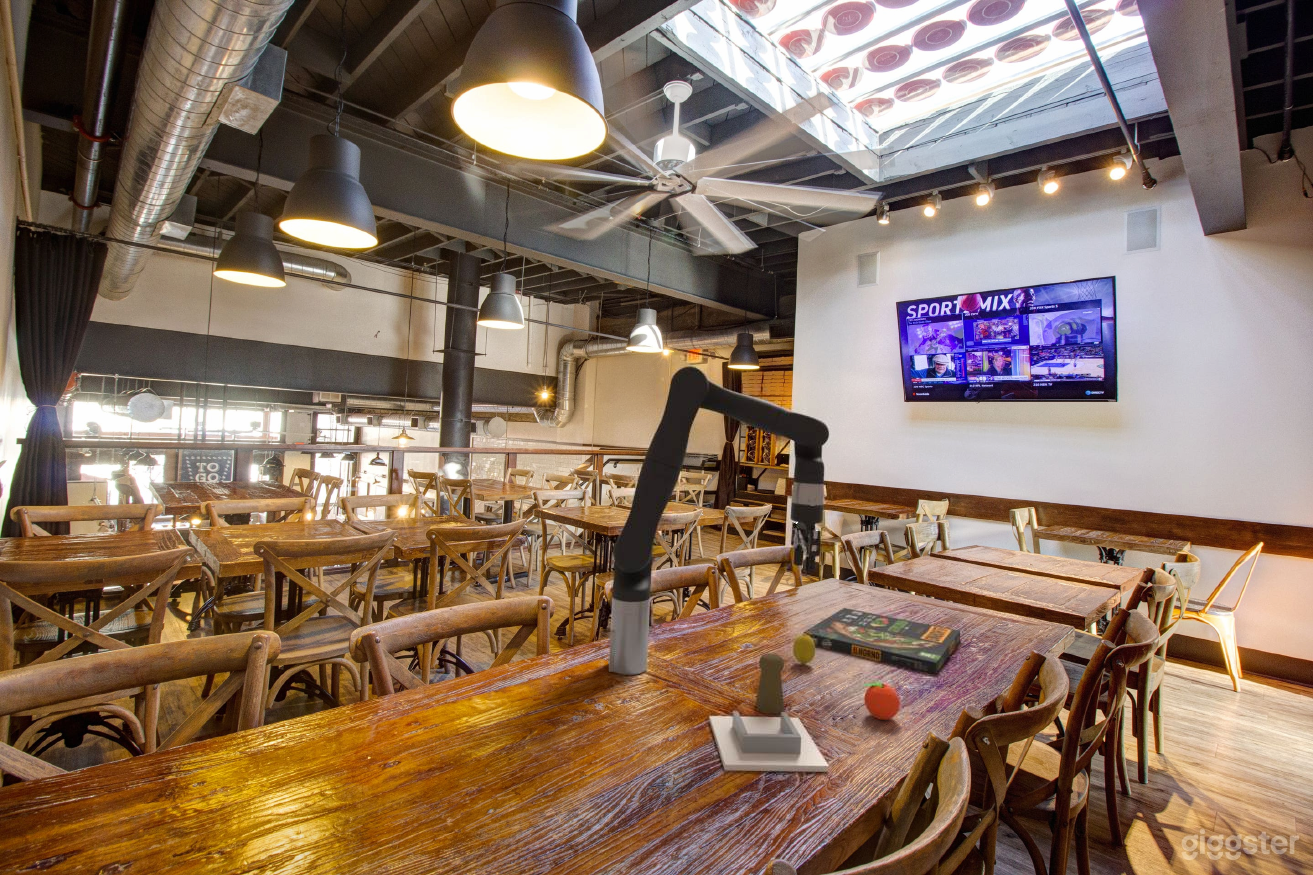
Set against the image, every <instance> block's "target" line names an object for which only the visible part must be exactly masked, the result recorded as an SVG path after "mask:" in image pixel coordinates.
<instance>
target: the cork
mask: <svg viewBox="0 0 1313 875" xmlns="http://www.w3.org/2000/svg"><path fill="white" fill-rule="evenodd" d="M758 665H759V668H760V669H761V671H760V677H759V681H758V682H759V684H758V688H757V694H756V700H755V708H756V709H757V710H759V711H761V712H763V713H765V714H781V712H785V711H784V710H785V704H784V703H785V702H784V691H783V681H782V680H783V679H782V672H783V670H784V667H785V661H784V659H783V657H782V656H781V655H779V654H776V653H771V652H769V653H768V652H767V653H764V654H762V655H761V656H760V657H759V661H758Z"/></svg>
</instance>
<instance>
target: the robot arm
mask: <svg viewBox="0 0 1313 875" xmlns="http://www.w3.org/2000/svg"><path fill="white" fill-rule="evenodd" d="M668 390H669V391H668V395H667V399H666V404H665V407H664V411H663V415H662V417H661V420H660V422H659V425H658V427H657V429H656V431H655V432H654V435H653V437H652V439H651V441H650V444H649V447H648V449H647V451H646V453H645V457H644V460H643V463H642V465H641V469H640V472H639V474H638V479H637V481H636V485H635V486H636V487H635V490H634V493H633V494H634V495H633V499H632V504H631V507H630V508H631V509H630V510H629V511H630V512H629V513H628V517H627V518H626V522H625V524H624V526H623V527H622V530H621V532H620V534H619V537H617V540H616V541H615V544H614V545H613V549H612V551H613V553H612V556H613V560H614V570H613V571H614V573H613V580H612V589H611V590H612V593H611V594H612V595H611V597H612V598H611V617H610V619H611V620H610V635H609V655H608V656H609V657H608V672H609V673H616V674H619V675H628V676H629V675H639V674H642V673H644V672H645V671H646V670H647V669H648V651H649V650H648V648H649V625H650V604H651V588H652V587H651V586H652V568H653V567H652V566H653V547H654V546H653V545H654V542H655V537H656V534H657V529H658V527H659V524H660V520H661V519H662V518H661V517H662V516H663V514H664V511H665V510H666V507H667V506H668V503H669V501H670V499H671V497H672V495H673V493H674V491H675V487H676V485H677V483H678V480H679V476H680V473H681V471H682V468H683V465H684V461H685V457H686V453H687V448H688V444H689V438H690V433H691V430H692V426H693V424H694V421H695V418H696V416H697V414H698V412H699V410H700V409H703V410H708V411H711V412H714V413H718V414H721V415H723V416H726V417H728V418H729V417H730V418H732V419H734V420H737V421H739V422H741V423H744V424H746V425H747V426H750V427H752V428H755V429H758V430H760V431H762V432H765V433H768V434H771V435H774V436H777V437H783V438H785V439H788V440H790V441H793V446H794V460H795V462H794V472H793V484H792V490H791V504H790V520H791V521H792V524H791V525H792V526H791V537H790V538H791V539H790V545H791V546H792V549H793V561H792V563H793V565H794V566H796V567H797V566H798V567H802V566H803V565H804V572H805V574H812V575H813V574H815V570H816V558H817V557H820V556H821V537H822V534H821V533H822V531H821V530H820V529H816V524H821V523H823V521H824V520H823V519H824V518H823V517H824V504H825V502H824V501H825V488H824V483H825V482H824V481H825V464H824V461H823V458H822V457H823V454H822V453H823V446H824V445H825V444H826V443H827V442H828V440H829V436H830V431H829V427H828V426H827V424H826V423H825V422H824V421H823V420H820V419H818V418H816V417H813V416H810V415H807V414H803V413H799V412H796V411H792V410H790V409H787V408H785V407H783V406H781V405H777V404H775V403H772V402H770V401H767V400H764V399H762V398H759V397H754V396H751V395H746V394H744V393H739V392H736V391H733V390H730V389H727V388H725V387H722V386H720V385H718V384H716V383H714V382H712V381H711V380H709V379H708V377H707V375H706V374H705V372H704V371H703V370H702V369H700V368H698V367H697V366H692V365H691V366H684V367H681V368H680V369H678V370H677V371H676V372H675V373H674V374H673V376H672V378H671V380H670V384H669V389H668ZM804 555H805V558H804Z"/></svg>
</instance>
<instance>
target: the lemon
mask: <svg viewBox="0 0 1313 875" xmlns="http://www.w3.org/2000/svg"><path fill="white" fill-rule="evenodd" d="M792 652H793V653H792V654H793V657H794V658H795V660H796V661H797V662H800V664H801V665H803V666H805V665H806V664H808V663H810V662H812V661H813V660H814V658H815V655H816V645H815V644H814V641H813V640H812V638H811V637H809V636H808V635H806V634H804V633H802V634H799V635H798V636H796V637H795V639H794V641H793V645H792Z"/></svg>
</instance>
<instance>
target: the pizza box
mask: <svg viewBox="0 0 1313 875" xmlns="http://www.w3.org/2000/svg"><path fill="white" fill-rule="evenodd" d="M803 634H806V635H808V636H809V637H811V638H812V640H813V641H814V644H815V647H820V648H825V649H829V650H833V651H837V652H841V653H846V654H849V655H853V656H857V657H861V658H865V659H868V660H869V659H870V660H874V661H878V662H883V663H887V664H890V665H895V666H898V667H902V668H907V669H910V670H911V669H912V670H914V671H920V672H923V673H928V674H931V675H937V674H938V672H939V671H940V669H941V668H942V667H943V665H944V664H945V662H946V661H947V660H948V659H949V657H950V655H952V652H954V651H955V649H956V647H957V646H958V645H959V643H960V641H961V630H957V629H952V628H948V627H943V626H938V625H932V624H927V623H923V622H918V621H912V620H908V619H901V618H897V617H892V616H887V615H882V614H878V613H872V612H866V611H862V610H857V609H852V608H846V607H843V608H842V609H840V610H838V611H836V612H835V613H833V614H832V615H830V616H828V617H826V618H825V619H823V620H821V621H820V622H817V624H815V625H813V626H811V627H810V628H808V629H806V630H804V631H803Z"/></svg>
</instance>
